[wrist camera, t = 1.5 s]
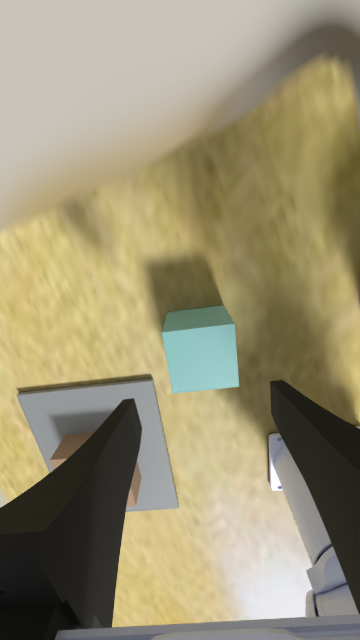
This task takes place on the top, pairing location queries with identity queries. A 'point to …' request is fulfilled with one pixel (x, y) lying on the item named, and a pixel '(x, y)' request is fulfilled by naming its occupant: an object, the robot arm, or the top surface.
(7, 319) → the top surface
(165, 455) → the build base
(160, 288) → the top surface
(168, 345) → the teal block
